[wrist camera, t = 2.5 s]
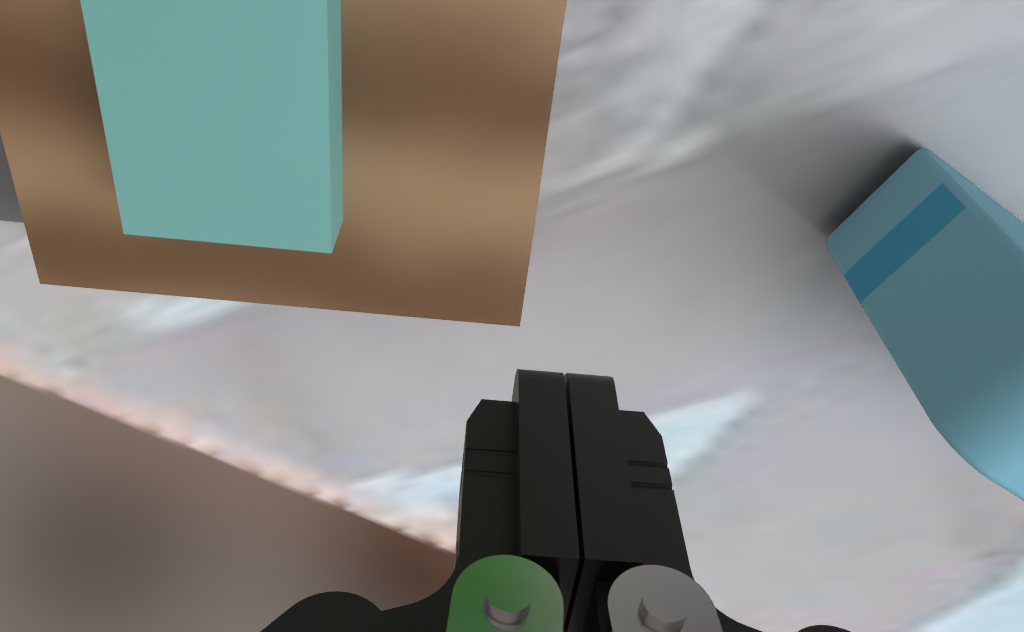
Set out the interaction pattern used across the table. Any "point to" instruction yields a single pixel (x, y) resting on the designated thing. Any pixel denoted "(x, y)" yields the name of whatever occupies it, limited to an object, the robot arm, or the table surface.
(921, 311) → the data package
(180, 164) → the teal flat block
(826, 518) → the table surface
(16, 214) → the mat
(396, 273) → the wooden block
